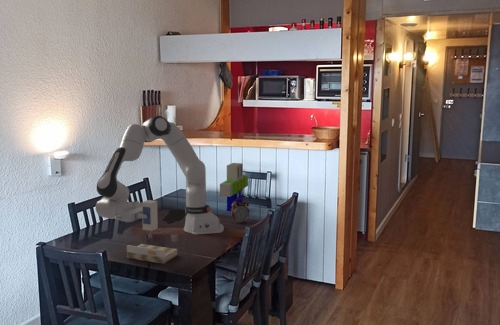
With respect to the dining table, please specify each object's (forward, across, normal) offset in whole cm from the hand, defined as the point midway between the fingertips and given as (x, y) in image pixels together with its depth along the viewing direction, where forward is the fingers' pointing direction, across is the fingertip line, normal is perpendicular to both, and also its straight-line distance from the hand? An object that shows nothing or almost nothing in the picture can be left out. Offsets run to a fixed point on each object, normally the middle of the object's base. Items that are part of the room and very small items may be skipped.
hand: (151, 214), depth 221 cm
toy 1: (-26, +65, +22) cm, 73 cm away
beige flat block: (-1, +1, +21) cm, 21 cm away
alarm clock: (+17, +68, +21) cm, 73 cm away
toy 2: (+3, +93, +21) cm, 95 cm away
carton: (-1, 0, +7) cm, 7 cm away
